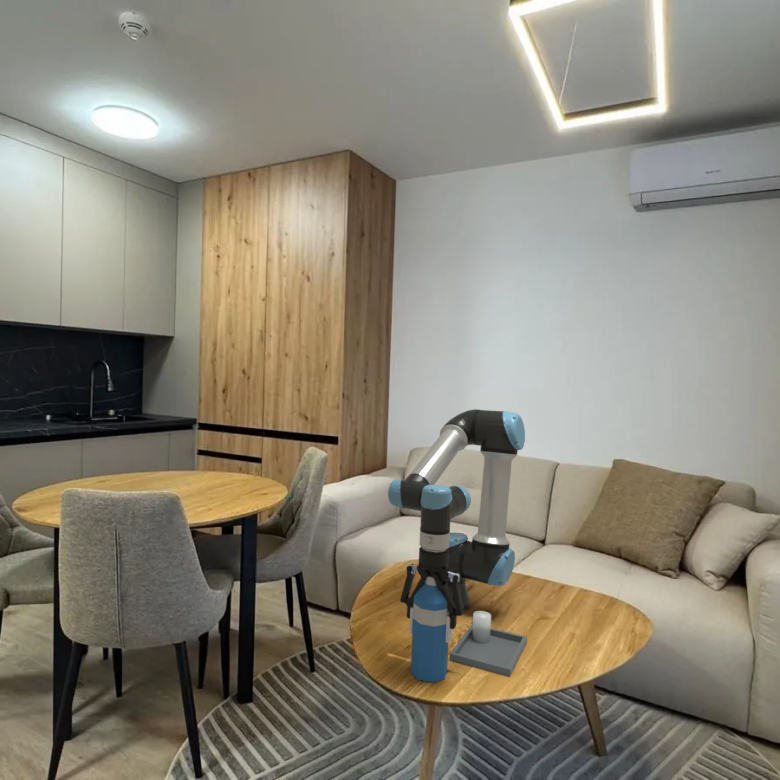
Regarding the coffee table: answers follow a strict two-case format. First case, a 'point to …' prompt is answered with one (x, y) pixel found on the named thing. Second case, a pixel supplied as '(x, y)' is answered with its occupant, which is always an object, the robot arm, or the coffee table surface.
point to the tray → (490, 651)
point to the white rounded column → (481, 626)
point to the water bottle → (429, 633)
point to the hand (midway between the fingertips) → (430, 635)
